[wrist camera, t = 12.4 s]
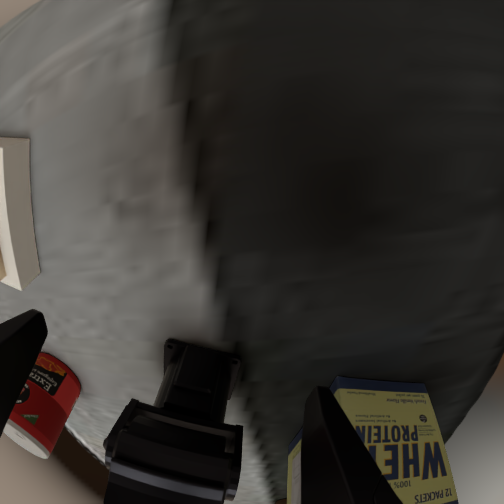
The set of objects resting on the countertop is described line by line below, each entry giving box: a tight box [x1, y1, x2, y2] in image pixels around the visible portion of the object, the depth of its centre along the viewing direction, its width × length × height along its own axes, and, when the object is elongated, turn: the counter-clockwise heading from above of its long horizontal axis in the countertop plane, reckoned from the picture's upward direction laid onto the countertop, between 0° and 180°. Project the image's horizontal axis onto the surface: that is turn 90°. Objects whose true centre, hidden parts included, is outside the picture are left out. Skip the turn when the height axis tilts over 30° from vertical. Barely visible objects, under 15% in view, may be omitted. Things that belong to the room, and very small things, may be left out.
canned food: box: [3, 353, 81, 459], centre depth 26 cm, size 8×8×11 cm
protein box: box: [287, 376, 458, 504], centre depth 22 cm, size 10×16×16 cm
